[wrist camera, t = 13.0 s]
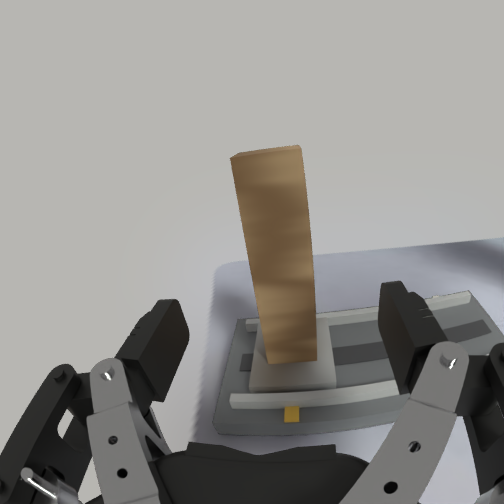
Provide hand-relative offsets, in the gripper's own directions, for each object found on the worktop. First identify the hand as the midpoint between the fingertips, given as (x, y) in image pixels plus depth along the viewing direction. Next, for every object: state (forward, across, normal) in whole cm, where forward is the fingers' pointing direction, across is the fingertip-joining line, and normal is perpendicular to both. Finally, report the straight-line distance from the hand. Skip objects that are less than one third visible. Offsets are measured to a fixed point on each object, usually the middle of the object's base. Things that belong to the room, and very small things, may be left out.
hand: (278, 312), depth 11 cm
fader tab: (+4, 0, +7) cm, 8 cm away
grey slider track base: (+4, -6, +9) cm, 12 cm away
